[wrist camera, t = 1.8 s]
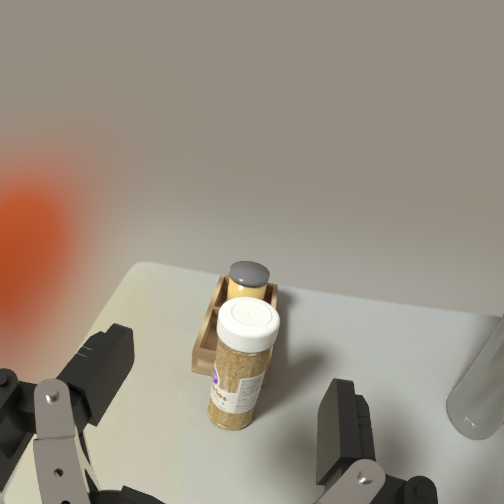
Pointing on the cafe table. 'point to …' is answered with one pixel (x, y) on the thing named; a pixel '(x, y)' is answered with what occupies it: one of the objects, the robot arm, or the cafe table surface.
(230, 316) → the sprinkles bottle
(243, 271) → the honey jar
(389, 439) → the cafe table surface
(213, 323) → the caddy
